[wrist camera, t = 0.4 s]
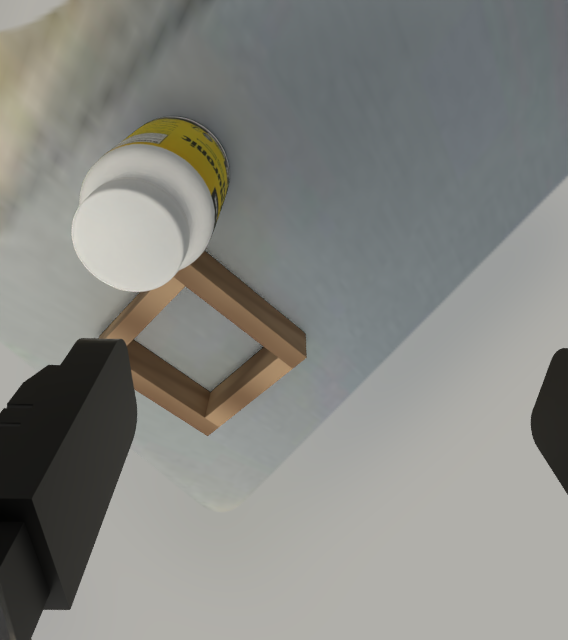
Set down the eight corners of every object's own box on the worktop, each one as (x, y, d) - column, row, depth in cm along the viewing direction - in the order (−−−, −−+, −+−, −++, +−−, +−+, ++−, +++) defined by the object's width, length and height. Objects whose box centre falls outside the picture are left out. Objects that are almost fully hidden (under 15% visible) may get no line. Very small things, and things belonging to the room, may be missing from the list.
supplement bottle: (243, 206, 26) (221, 296, 18) (150, 226, 27) (88, 321, 19) (214, 101, 23) (172, 152, 15) (111, 126, 24) (17, 188, 16)
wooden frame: (189, 238, 27) (181, 257, 25) (305, 333, 31) (306, 357, 29) (100, 335, 31) (86, 358, 29) (212, 410, 35) (207, 436, 33)
